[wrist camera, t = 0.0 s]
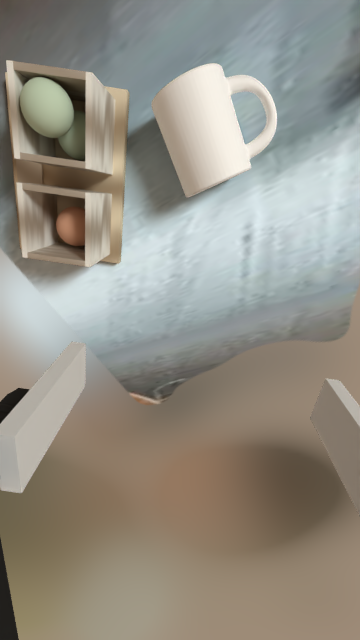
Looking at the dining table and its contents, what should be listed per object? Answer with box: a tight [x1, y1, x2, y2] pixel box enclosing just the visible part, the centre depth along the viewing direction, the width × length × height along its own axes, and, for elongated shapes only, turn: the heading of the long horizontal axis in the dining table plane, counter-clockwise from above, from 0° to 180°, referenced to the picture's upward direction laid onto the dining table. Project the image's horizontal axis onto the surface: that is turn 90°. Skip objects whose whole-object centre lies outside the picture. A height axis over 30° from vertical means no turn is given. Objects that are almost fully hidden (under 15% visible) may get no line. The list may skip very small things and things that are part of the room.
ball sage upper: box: [20, 77, 74, 138], centre depth 28 cm, size 5×5×5 cm
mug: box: [152, 63, 277, 198], centre depth 32 cm, size 12×10×8 cm
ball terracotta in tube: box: [56, 207, 85, 246], centre depth 37 cm, size 5×5×5 cm
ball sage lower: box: [58, 110, 86, 161], centre depth 33 cm, size 5×5×5 cm
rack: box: [5, 60, 129, 267], centre depth 34 cm, size 20×14×9 cm
